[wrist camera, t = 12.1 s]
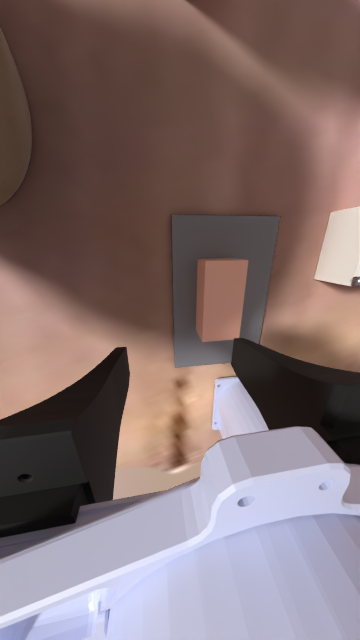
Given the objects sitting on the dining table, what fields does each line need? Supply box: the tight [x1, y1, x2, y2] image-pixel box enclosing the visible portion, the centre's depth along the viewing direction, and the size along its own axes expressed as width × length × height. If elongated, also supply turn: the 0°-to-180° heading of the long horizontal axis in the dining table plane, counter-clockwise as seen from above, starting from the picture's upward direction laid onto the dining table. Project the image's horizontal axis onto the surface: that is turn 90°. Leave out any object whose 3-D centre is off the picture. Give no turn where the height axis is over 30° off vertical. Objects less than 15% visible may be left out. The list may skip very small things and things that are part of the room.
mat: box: [171, 215, 281, 368], centre depth 21 cm, size 17×11×1 cm, turn 0°
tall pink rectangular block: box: [196, 258, 248, 342], centre depth 19 cm, size 8×4×3 cm, turn 1°
